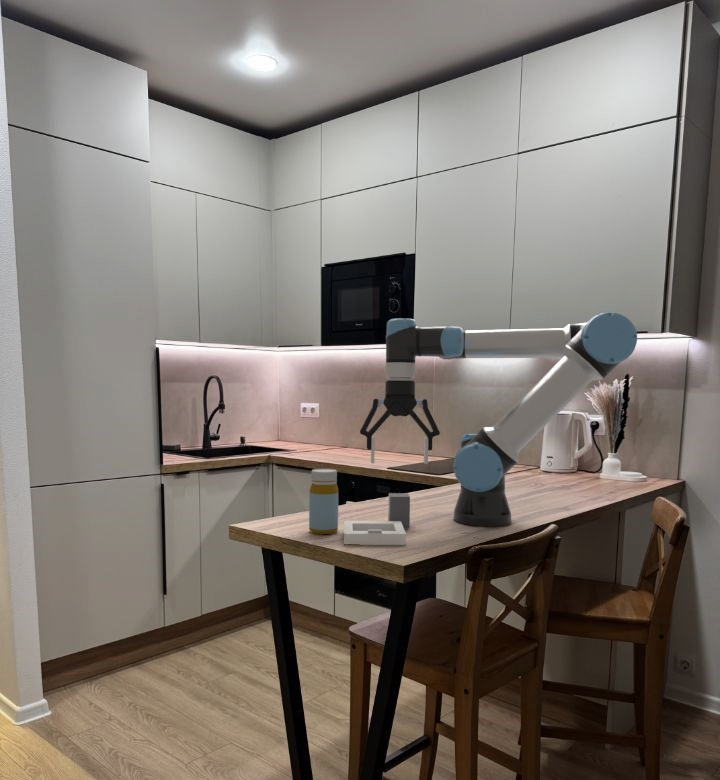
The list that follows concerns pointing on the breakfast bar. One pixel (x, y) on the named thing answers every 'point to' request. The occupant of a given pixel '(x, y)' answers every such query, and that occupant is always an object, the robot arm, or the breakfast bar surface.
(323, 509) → the bottle
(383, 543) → the socket plate
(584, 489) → the breakfast bar surface
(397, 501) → the plug
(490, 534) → the breakfast bar surface
